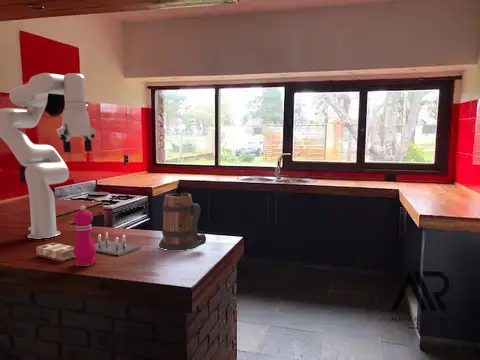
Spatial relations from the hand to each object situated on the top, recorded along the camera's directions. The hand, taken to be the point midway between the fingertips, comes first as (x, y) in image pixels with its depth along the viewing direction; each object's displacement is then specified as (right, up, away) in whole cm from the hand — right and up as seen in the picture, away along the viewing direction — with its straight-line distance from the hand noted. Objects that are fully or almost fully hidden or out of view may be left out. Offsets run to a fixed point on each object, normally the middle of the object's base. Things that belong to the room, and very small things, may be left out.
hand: (78, 151), depth 155 cm
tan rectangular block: (-2, -39, -13) cm, 40 cm away
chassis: (+14, -37, -3) cm, 40 cm away
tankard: (+41, -37, 0) cm, 55 cm away
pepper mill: (+11, -40, -21) cm, 46 cm away
